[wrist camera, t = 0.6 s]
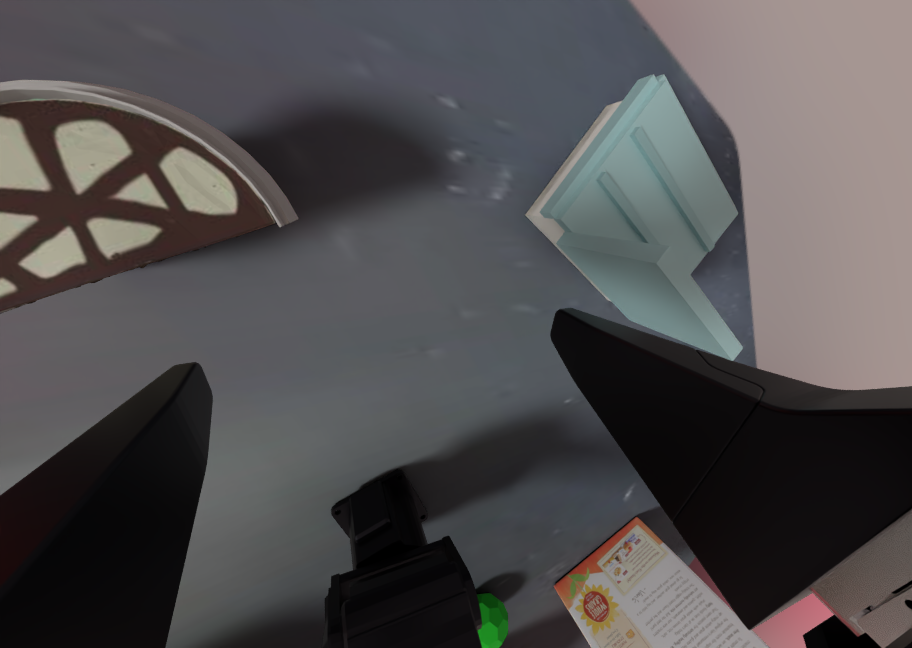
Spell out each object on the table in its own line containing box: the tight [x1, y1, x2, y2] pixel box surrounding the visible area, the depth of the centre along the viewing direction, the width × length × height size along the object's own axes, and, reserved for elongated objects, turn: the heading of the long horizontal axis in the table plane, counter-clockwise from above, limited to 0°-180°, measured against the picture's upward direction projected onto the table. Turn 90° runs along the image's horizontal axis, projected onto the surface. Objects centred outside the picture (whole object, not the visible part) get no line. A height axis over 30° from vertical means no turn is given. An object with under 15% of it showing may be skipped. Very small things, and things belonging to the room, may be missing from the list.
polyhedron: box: [477, 593, 508, 648], centre depth 38 cm, size 5×5×5 cm
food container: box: [0, 80, 299, 314], centre depth 15 cm, size 12×6×10 cm, turn 107°
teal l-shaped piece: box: [540, 74, 743, 361], centre depth 23 cm, size 12×14×9 cm
